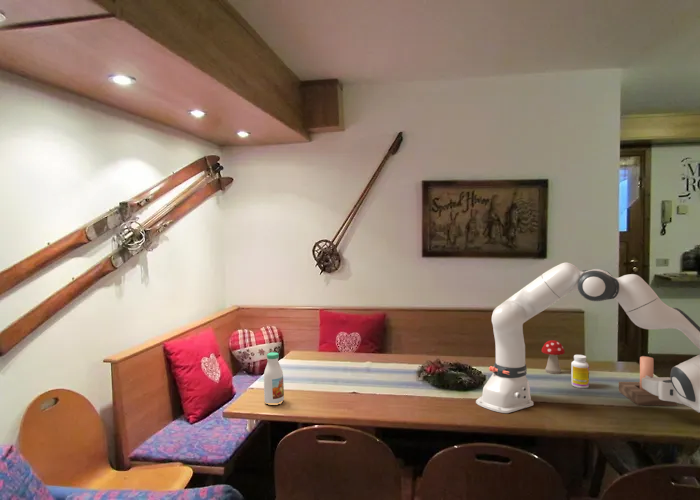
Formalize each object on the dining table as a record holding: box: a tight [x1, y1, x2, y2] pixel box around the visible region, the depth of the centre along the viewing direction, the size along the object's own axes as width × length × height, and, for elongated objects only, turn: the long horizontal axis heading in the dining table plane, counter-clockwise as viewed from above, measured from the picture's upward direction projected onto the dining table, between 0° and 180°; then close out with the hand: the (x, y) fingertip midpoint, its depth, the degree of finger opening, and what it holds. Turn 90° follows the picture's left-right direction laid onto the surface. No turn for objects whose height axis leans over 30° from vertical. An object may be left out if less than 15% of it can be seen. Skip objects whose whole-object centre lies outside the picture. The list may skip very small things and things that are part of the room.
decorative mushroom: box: [541, 339, 566, 375], centre depth 205 cm, size 10×9×15 cm
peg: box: [639, 355, 655, 391], centre depth 172 cm, size 4×4×16 cm
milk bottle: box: [263, 351, 285, 403], centre depth 177 cm, size 8×8×20 cm
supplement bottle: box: [570, 354, 590, 389], centre depth 187 cm, size 7×7×13 cm
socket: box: [618, 381, 678, 407], centre depth 173 cm, size 14×14×4 cm
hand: (660, 377), depth 164 cm, fingers open, 8 cm apart
